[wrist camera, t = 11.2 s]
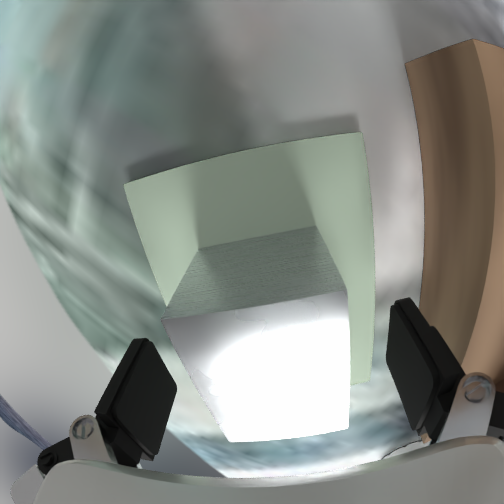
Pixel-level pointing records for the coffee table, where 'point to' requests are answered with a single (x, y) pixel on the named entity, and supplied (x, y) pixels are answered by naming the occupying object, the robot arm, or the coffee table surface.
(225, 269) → the grey rectangular block
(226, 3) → the coffee table surface
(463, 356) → the plane body
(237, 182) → the mat
